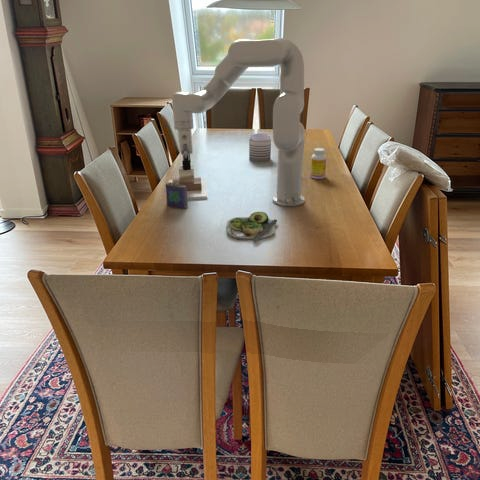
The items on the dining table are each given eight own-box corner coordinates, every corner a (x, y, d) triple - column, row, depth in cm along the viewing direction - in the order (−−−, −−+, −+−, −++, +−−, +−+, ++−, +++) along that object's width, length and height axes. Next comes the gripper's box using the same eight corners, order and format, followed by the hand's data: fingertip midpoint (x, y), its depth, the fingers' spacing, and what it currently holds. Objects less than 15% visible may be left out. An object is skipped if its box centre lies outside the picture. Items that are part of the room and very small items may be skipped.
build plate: (207, 198, 187) (207, 196, 187) (167, 200, 186) (167, 197, 185) (205, 181, 207) (205, 178, 206) (169, 182, 205) (168, 180, 205)
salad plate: (280, 245, 150) (280, 232, 148) (225, 245, 150) (224, 232, 148) (276, 221, 168) (277, 209, 166) (227, 221, 168) (227, 209, 166)
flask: (189, 207, 179) (187, 181, 174) (184, 210, 177) (183, 183, 172) (169, 203, 183) (167, 177, 178) (164, 206, 180) (162, 179, 176)
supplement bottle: (324, 179, 208) (326, 151, 202) (309, 178, 209) (311, 150, 203) (325, 175, 214) (327, 147, 208) (310, 174, 215) (312, 147, 209)
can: (271, 156, 242) (272, 133, 236) (270, 163, 231) (271, 139, 226) (249, 156, 243) (249, 133, 237) (247, 162, 233) (247, 138, 227)
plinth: (201, 190, 193) (201, 183, 191) (172, 191, 192) (172, 184, 190) (201, 184, 200) (200, 177, 198) (173, 185, 199) (172, 178, 197)
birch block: (194, 182, 193) (193, 168, 190) (179, 183, 192) (178, 169, 189) (193, 179, 197) (193, 165, 194) (179, 179, 196) (178, 165, 193)
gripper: (193, 128, 177) (196, 172, 184) (193, 119, 192) (195, 160, 199) (173, 129, 176) (177, 173, 183) (174, 120, 191) (178, 161, 199)
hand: (186, 166), depth 191 cm, fingers open, 9 cm apart
